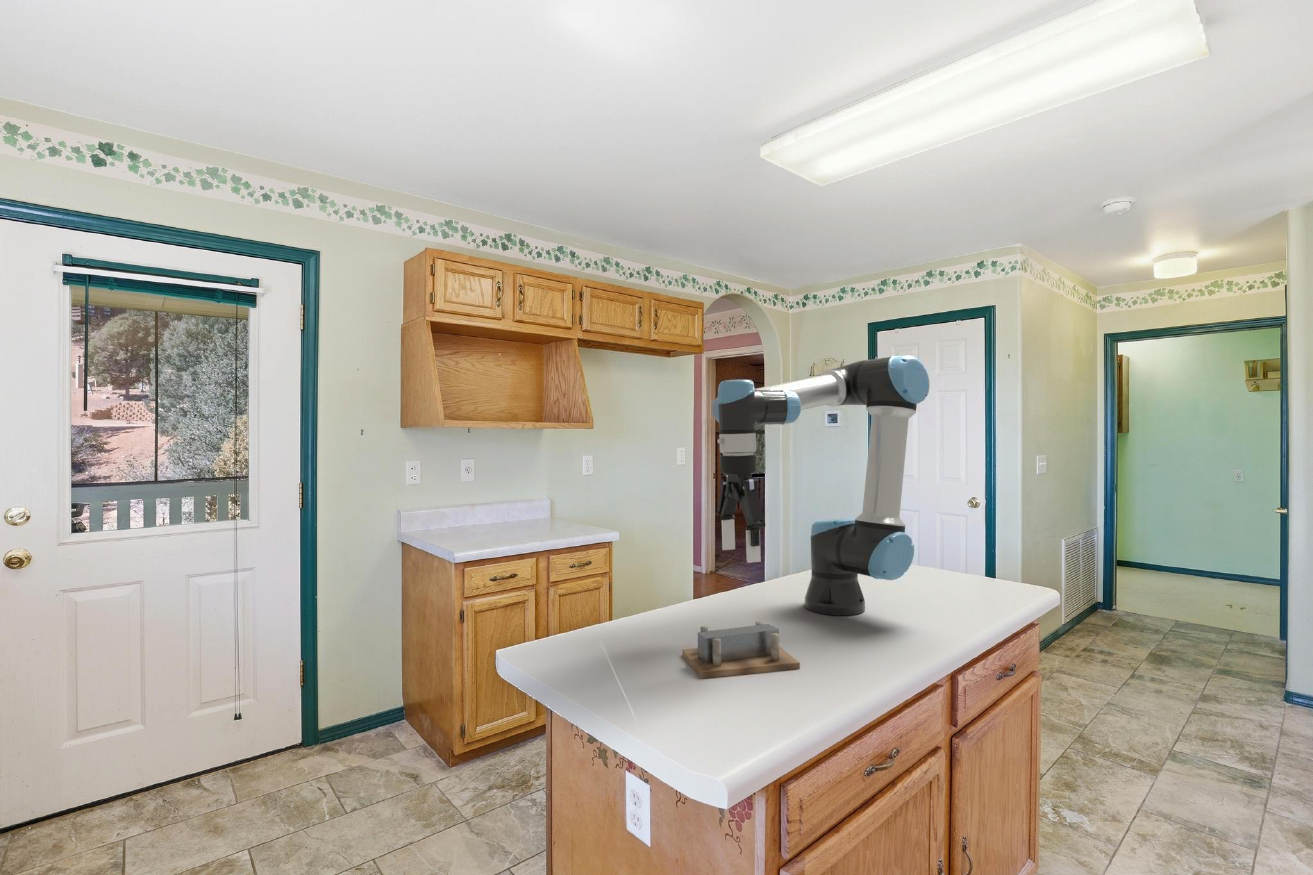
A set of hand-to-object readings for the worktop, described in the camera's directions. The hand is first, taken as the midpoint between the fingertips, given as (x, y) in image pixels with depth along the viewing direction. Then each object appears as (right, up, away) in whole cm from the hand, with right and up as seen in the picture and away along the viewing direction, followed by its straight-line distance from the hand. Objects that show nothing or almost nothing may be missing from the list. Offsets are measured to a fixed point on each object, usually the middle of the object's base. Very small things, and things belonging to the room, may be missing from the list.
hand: (740, 555), depth 134 cm
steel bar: (-1, -19, -6) cm, 20 cm away
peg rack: (-1, -20, -6) cm, 21 cm away
